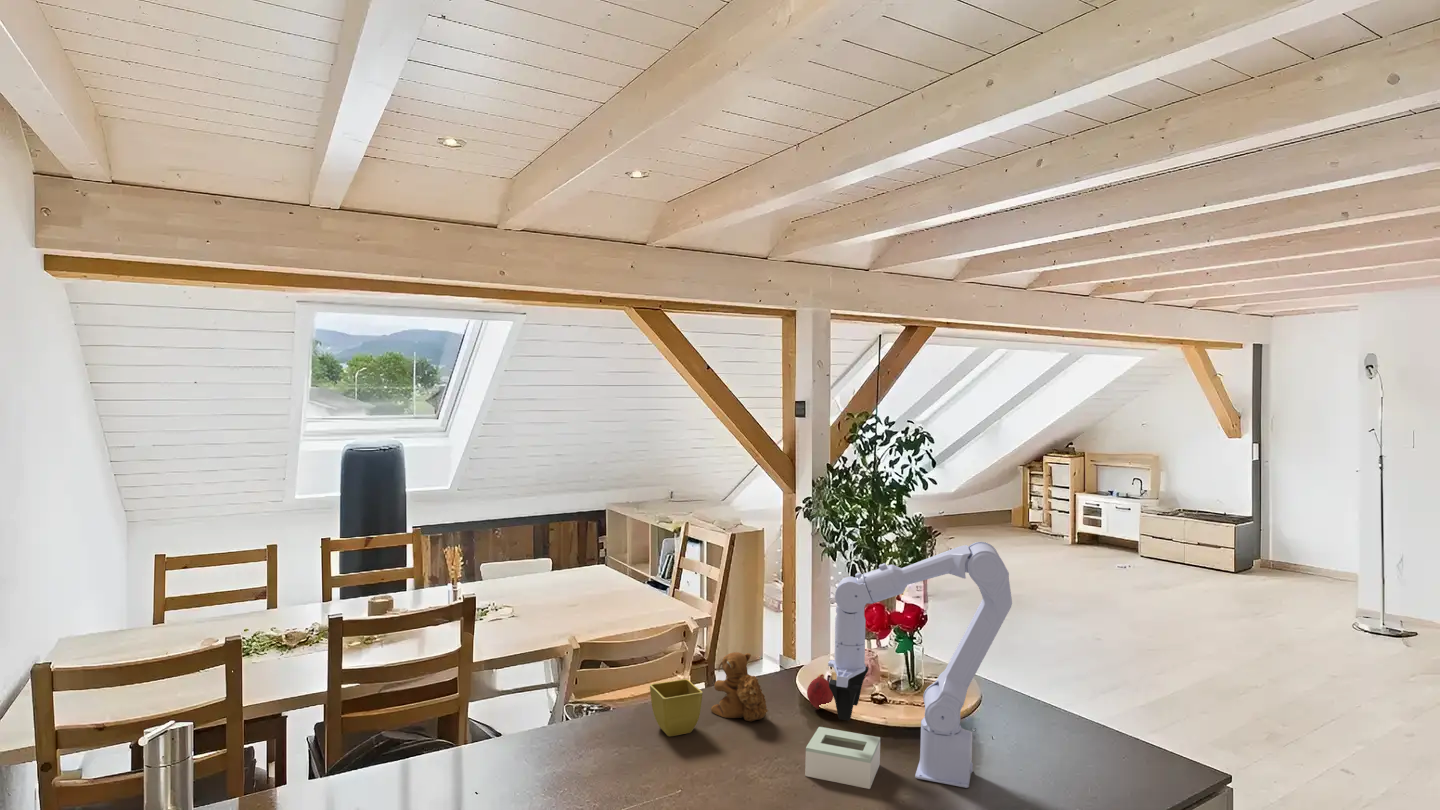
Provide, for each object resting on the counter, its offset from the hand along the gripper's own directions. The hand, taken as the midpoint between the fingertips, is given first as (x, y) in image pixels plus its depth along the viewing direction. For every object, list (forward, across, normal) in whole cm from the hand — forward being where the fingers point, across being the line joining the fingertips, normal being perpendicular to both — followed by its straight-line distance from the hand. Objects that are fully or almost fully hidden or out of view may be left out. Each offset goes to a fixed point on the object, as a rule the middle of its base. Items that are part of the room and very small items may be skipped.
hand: (848, 711), depth 154 cm
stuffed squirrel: (+10, -13, -26) cm, 31 cm away
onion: (+10, -23, -11) cm, 27 cm away
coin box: (+10, +3, 0) cm, 10 cm away
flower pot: (+10, 0, -36) cm, 37 cm away
